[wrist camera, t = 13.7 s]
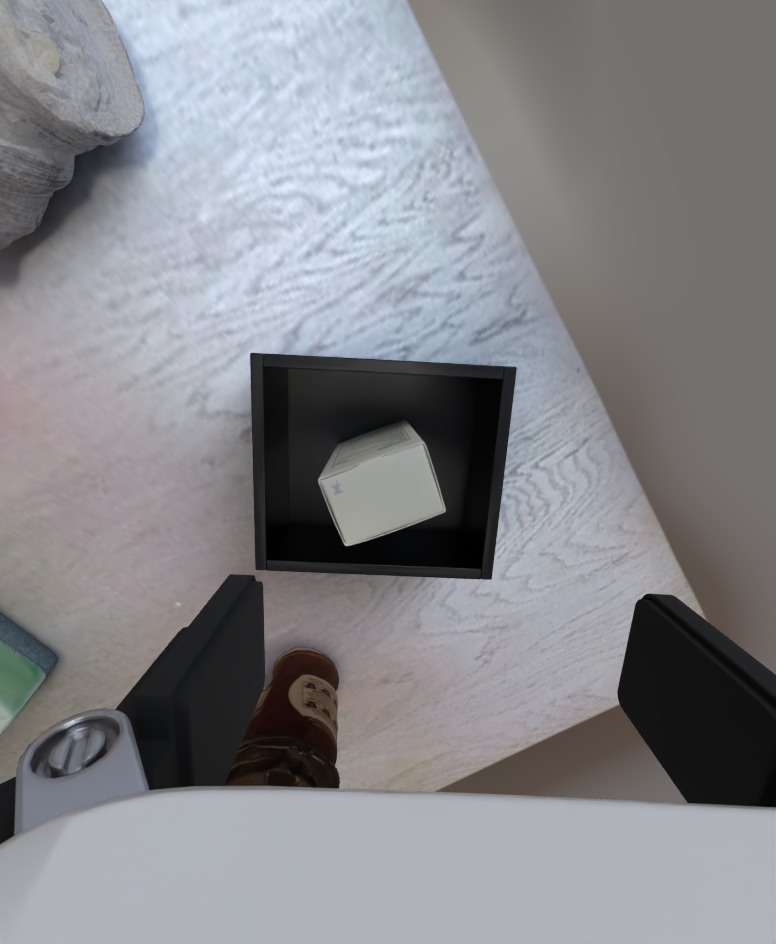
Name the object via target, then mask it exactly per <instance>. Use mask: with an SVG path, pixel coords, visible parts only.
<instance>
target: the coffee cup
mask: <svg viewBox="0 0 776 944" xmlns="http://www.w3.org/2000/svg"><path fill="white" fill-rule="evenodd" d="M338 684H339V676H338V672H337V669H336V666H335V664H334V663H333V662H332V661H331V660H330V659H329V658H328V657H327V656H325V655H324V654H322V653H320V652H318V651H315V650H313V649H310V648H299V647H297V648H293V649H291V650H290V651H288V652H285V653H283V654H282V656H281V657H279V658H278V659H277V661H276V663H275V665H274V668H273V680H272V682H271V683H270V685H269V686H268V687H267V688H266V689H265V690H263V691H262V693H261V696H260V698H259V701H258V703H257V706H256V708H255V711H254V713H253V716H252V718H251V720H250V723H249V725H248V728H247V730H246V733H245V735H244V738H243V740H242V743H241V745H240V748H239V750H238V753H237V755H236V758H235V760H234V763H233V765H232V768H231V770H230V773H229V775H228V778H227V780H226V783H225V785H224V786H283V787H311V788H339V784H340V780H339V779H340V778H339V774H338V771H337V768H335V763H336V760H337V731H338V725H337V710H338V699H337V694H336V690H337V688H338Z"/></svg>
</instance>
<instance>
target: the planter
mask: <svg viewBox="0 0 776 944" xmlns="http://www.w3.org/2000/svg"><path fill="white" fill-rule="evenodd" d="M57 661H58V657H57V656H56V655H55V654H54V653H53V652H52V651H51V650H49V649H48V648H47V647H46V646H44V645H43V644H42V643H40V642H39V641H37V640H36V639H35V638H33V637H32V636H31V635H29V634H28V633H27V632H25V631H24V630H23V629H21V628H20V627H18V626H17V625H16V624H14V623H13V622H12V621H10V620H9V619H8V618H6V617H5V616H3V615H2V614H1V613H0V734H1V733H2V732H3V731H4V730H5V729H6V728H7V727H8V726H9V725H10V724H11V723H12V721H13V720H14V719H15V718H16V717H17V716H18V714H19V713H20V712H21V711H22V709H23V708H24V707H25V705H26V704H27V703H28V702H29V700H30V699H31V698H32V696H33V695H34V694H35V692H36V691H37V690H38V688H39V687H40V686H41V684H42V683H43V681H44V680H45V679H46V677H47V676H48V675H49V673H50V672H51V670H52V669H53V667H54V666H55V664H56V663H57Z"/></svg>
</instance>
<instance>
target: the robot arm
mask: <svg viewBox="0 0 776 944" xmlns="http://www.w3.org/2000/svg"><path fill="white" fill-rule="evenodd" d="M264 681H265V649H264V604H263V584H262V582H258V581H256V579H255V576H254V575H234V574H231V575H229V576H228V578H227V579H226V580H225V581H224V583H223V584H222V585H221V586H220V588H219V589H218V590H217V591H216V593H215V594H214V595H213V596H212V598H211V599H210V600H209V601H208V603H207V604H206V605H205V606H204V608H203V609H202V610H201V611H200V613H199V614H198V615H197V616H196V618H195V619H194V620H193V621H192V623H191V624H190V625H189V626H188V627H185V628H183V629H181V630H180V631H179V632H178V633H177V635H176V636H175V637H174V638H173V640H172V641H171V642H170V643H169V644H168V646H167V647H166V648H165V649H164V651H163V652H162V653H161V654H160V655H159V657H158V658H157V659H156V660H155V662H154V663H153V664H152V665H151V666H150V668H149V669H148V670H147V671H146V673H145V674H144V675H143V676H142V677H141V679H140V680H139V681H138V682H137V684H136V685H135V686H134V687H133V688H132V690H131V691H130V692H129V693H128V695H127V696H126V697H125V698H124V699H123V701H122V702H121V703H120V704H119V705H118V707H117V708H116V709H106V708H103V709H95V710H89V711H85V712H82V713H79V714H75V715H73V716H71V717H68V718H66V719H64V720H62V721H60V722H58V723H56V724H55V725H53V726H52V727H50V728H49V729H47V730H46V731H44V732H43V733H41V734H40V735H39V736H38V737H37V738H36V739H35V740H34V741H33V742H32V743H31V744H29V745H28V747H27V748H26V750H25V751H24V753H23V754H22V756H21V757H20V759H19V762H18V766H17V769H16V777H14V778H12V779H10V780H8V781H6V782H4V783H2V784H0V944H776V675H775V674H774V673H773V672H771V671H770V670H769V669H767V668H766V667H765V666H764V665H762V664H761V663H760V662H758V661H757V660H756V659H754V658H753V657H752V656H751V655H749V654H748V653H747V652H746V651H744V650H743V649H742V648H740V647H739V646H738V645H737V644H735V643H734V642H733V641H732V640H730V639H729V638H728V637H726V636H725V635H724V634H723V633H721V632H720V631H719V630H717V629H716V628H715V627H714V626H712V625H711V624H710V623H708V622H707V621H706V620H705V619H703V618H702V617H701V616H699V615H698V614H697V613H696V612H694V611H693V610H692V609H690V608H689V607H688V606H687V605H685V604H684V603H683V602H681V601H680V600H679V599H678V598H676V597H675V596H673V595H661V594H646V595H644V597H643V598H642V599H640V600H638V601H637V602H636V605H635V610H634V614H633V619H632V624H631V629H630V634H629V639H628V643H627V648H626V653H625V658H624V663H623V667H622V672H621V677H620V682H619V687H618V700H619V703H620V706H621V707H622V709H623V710H624V712H625V713H626V715H627V716H628V718H629V719H630V720H631V722H632V723H633V725H634V726H635V728H636V729H637V731H638V732H639V733H640V735H641V736H642V738H643V739H644V741H645V742H646V744H647V745H648V746H649V748H650V749H651V751H652V752H653V754H654V755H655V757H656V758H657V759H658V761H659V762H660V764H661V765H662V767H663V768H664V769H665V771H666V772H667V774H668V775H669V776H670V778H671V780H672V781H673V782H674V784H675V785H676V787H677V788H678V789H679V791H680V792H681V794H682V795H683V797H684V798H685V800H686V801H687V802H688V803H674V802H654V801H634V800H614V799H591V798H568V797H546V796H521V795H497V794H475V793H474V794H473V793H448V792H421V791H394V790H367V789H339V788H311V787H283V786H224V785H225V783H226V780H227V778H228V775H229V773H230V770H231V768H232V765H233V763H234V760H235V758H236V755H237V753H238V750H239V748H240V745H241V743H242V740H243V738H244V735H245V733H246V730H247V728H248V725H249V723H250V720H251V718H252V716H253V713H254V711H255V708H256V706H257V703H258V701H259V698H260V696H261V693H262V690H263V687H264Z"/></svg>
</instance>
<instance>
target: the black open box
mask: <svg viewBox="0 0 776 944" xmlns="http://www.w3.org/2000/svg"><path fill="white" fill-rule="evenodd" d="M250 364H251V404H252V444H253V484H254V524H255V564H256V570H269V571H293V572H317V573H341V574H365V575H390V576H414V577H438V578H462V579H480V578H481V579H490V580H491V579H492V571H493V563H494V554H495V546H496V537H497V529H498V521H499V512H500V504H501V495H502V487H503V479H504V470H505V462H506V453H507V445H508V437H509V428H510V420H511V411H512V403H513V395H514V386H515V378H516V369H517V368H516V367H507V366H489V365H470V364H451V363H432V362H413V361H395V360H376V359H357V358H338V357H319V356H300V355H282V354H262V353H251V354H250ZM403 420H406V421H407V422H408V423H409V424H410V426H411V427H412V428H413V429H414V430H415V432H416V433H417V434H418V435H419V437H420V438H421V439H422V440H423V442H424V443H425V444H426V446H427V449H428V452H429V455H430V458H431V461H432V464H433V467H434V471H435V474H436V477H437V480H438V484H439V487H440V491H441V494H442V498H443V501H444V505H445V508H446V511H445V512H444V513H442V514H439V515H437V516H434V517H432V518H429V519H426V520H424V521H421V522H419V523H416V524H413V525H411V526H408V527H405V528H403V529H400V530H397V531H394V532H391V533H388V534H386V535H383V536H380V537H377V538H374V539H371V540H368V541H364V542H361V543H358V544H354V545H350V546H345V545H344V543H343V541H342V539H341V537H340V535H339V533H338V530H337V528H336V526H335V523H334V521H333V519H332V516H331V514H330V511H329V509H328V506H327V504H326V501H325V498H324V496H323V493H322V490H321V488H320V485H319V483H318V478H319V477H320V475H321V473H322V471H323V469H324V467H325V466H326V464H327V462H328V461H329V459H330V457H331V455H332V453H333V451H334V450H335V448H336V446H337V445H338V444H339V443H342V442H344V441H347V440H349V439H352V438H354V437H357V436H360V435H362V434H365V433H368V432H370V431H373V430H376V429H379V428H381V427H384V426H387V425H390V424H393V423H396V422H400V421H403Z"/></svg>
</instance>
